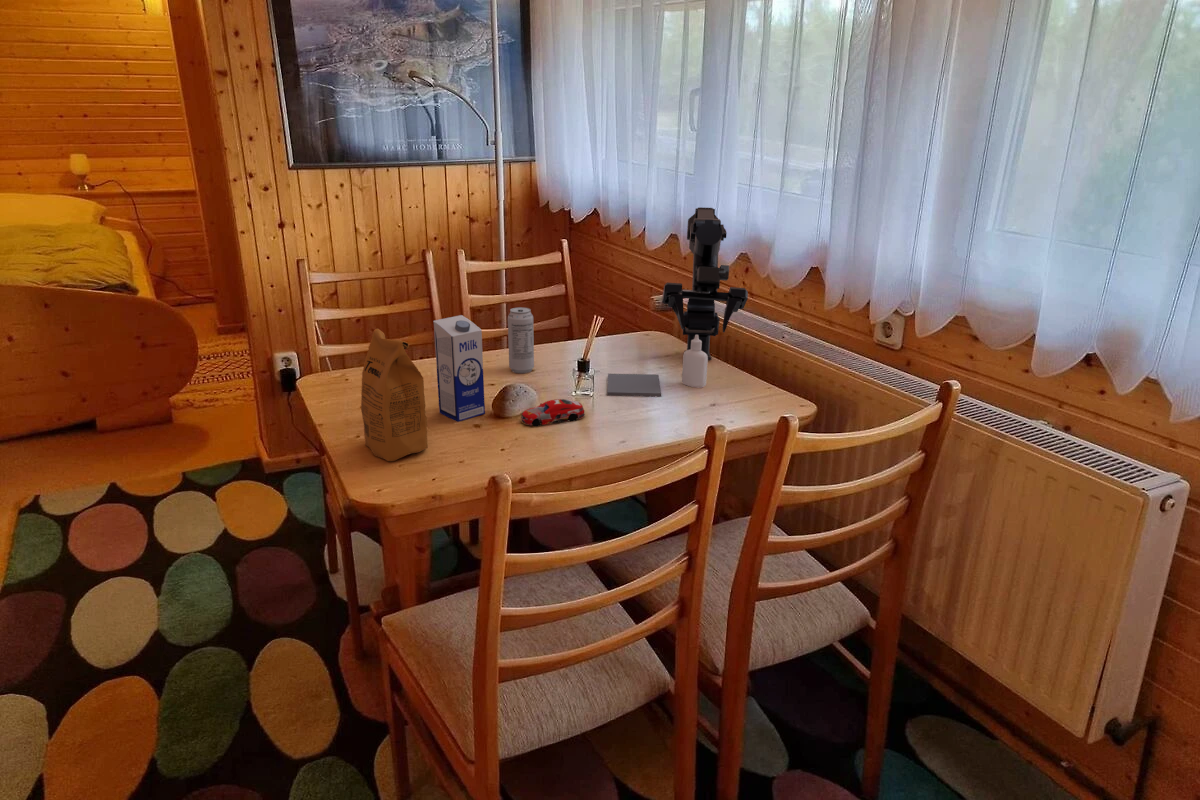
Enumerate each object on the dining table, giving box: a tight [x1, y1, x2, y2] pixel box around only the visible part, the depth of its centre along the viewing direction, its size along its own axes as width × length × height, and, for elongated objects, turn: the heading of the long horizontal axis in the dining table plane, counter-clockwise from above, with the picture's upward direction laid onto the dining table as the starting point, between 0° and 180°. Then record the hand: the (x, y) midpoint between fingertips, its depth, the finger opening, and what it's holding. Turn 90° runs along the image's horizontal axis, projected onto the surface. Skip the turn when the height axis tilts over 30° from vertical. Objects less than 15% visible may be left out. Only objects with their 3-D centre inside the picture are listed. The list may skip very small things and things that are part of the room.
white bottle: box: [681, 335, 709, 389], centre depth 178 cm, size 4×6×12 cm
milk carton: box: [433, 314, 486, 423], centre depth 158 cm, size 7×7×20 cm
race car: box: [520, 398, 586, 428], centre depth 158 cm, size 13×5×4 cm, turn 111°
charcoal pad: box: [606, 373, 662, 398], centre depth 178 cm, size 13×12×1 cm
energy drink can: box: [507, 306, 535, 374], centre depth 185 cm, size 6×6×15 cm
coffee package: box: [360, 328, 429, 462], centre depth 140 cm, size 10×12×22 cm
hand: (703, 330), depth 173 cm, fingers open, 9 cm apart
